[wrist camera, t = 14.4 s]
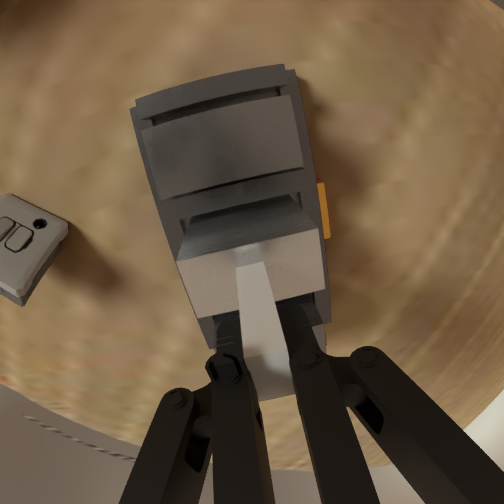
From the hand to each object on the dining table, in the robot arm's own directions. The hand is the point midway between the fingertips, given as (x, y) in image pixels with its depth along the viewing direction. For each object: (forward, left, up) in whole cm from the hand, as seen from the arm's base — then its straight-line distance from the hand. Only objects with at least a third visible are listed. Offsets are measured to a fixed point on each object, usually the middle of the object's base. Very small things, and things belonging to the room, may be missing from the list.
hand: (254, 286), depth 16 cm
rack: (0, 0, -11) cm, 11 cm away
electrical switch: (-5, -21, -11) cm, 24 cm away
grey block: (0, 0, -10) cm, 10 cm away
